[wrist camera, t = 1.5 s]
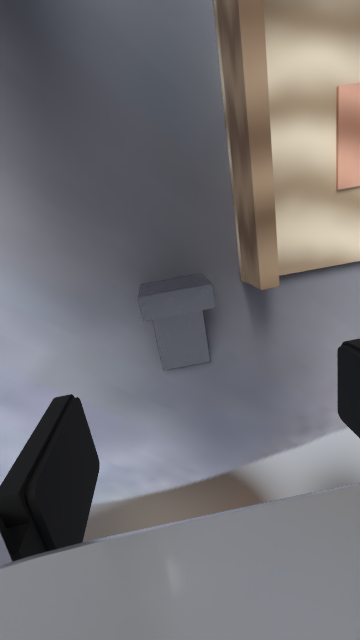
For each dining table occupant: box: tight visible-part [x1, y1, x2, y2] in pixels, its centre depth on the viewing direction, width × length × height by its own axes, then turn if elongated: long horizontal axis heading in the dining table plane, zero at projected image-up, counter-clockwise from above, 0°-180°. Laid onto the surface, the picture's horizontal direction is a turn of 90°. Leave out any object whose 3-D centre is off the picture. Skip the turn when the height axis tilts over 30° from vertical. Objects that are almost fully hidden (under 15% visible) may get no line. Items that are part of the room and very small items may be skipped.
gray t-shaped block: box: [138, 274, 215, 370], centre depth 27 cm, size 9×6×6 cm, turn 9°
